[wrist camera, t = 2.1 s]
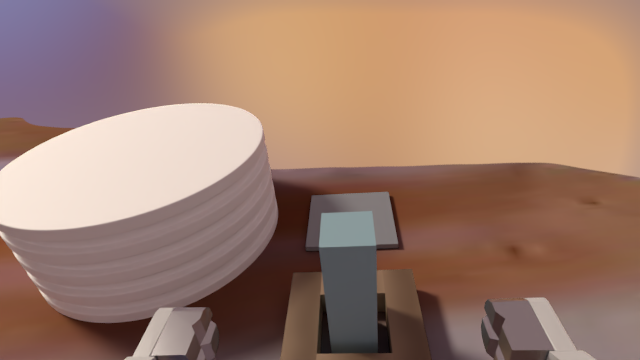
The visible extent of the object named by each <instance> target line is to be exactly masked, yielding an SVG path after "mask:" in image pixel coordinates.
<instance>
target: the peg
mask: <svg viewBox="0 0 640 360" xmlns="http://www.w3.org/2000/svg"><path fill="white" fill-rule="evenodd" d="M319 253H320V261H321V269H322V277H323V286H324V294H325V302H326V310H327V318H328V326H329V334H330V343H331V351H332V354H339V353H378V330H377V267H376V240H375V231H374V222H373V214H372V211H361V212H338V213H321V226H320V239H319Z"/></svg>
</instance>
